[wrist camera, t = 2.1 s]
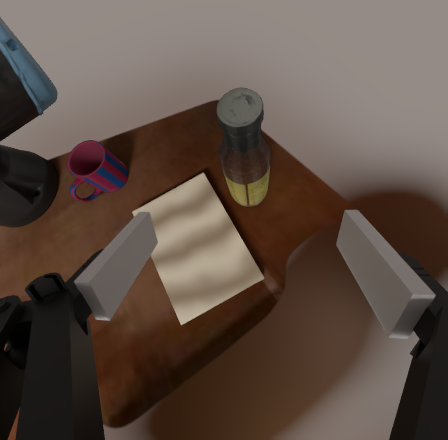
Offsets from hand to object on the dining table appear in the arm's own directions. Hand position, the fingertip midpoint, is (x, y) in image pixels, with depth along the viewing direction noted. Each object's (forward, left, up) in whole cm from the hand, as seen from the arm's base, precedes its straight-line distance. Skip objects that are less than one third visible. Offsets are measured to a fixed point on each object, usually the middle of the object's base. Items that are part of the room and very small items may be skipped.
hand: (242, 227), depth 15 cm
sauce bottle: (-9, +6, -21) cm, 23 cm away
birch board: (-6, -7, -20) cm, 22 cm away
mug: (-25, -17, -21) cm, 36 cm away
